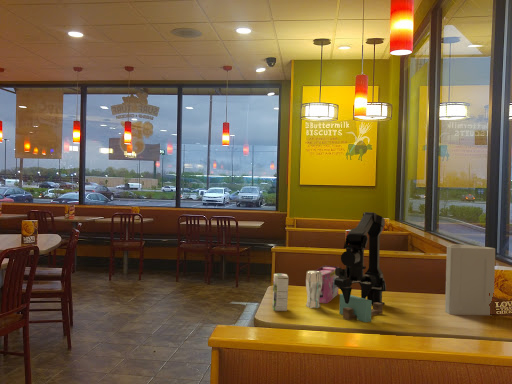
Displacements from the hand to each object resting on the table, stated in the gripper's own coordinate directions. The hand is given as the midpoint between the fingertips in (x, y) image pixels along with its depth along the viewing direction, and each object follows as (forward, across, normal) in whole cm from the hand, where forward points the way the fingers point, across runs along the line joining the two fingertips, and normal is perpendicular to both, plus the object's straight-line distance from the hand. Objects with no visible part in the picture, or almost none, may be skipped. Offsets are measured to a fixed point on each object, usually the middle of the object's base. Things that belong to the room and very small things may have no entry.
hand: (355, 302), depth 178 cm
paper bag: (+6, -52, +15) cm, 54 cm away
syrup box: (+6, +19, -24) cm, 31 cm away
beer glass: (+6, +3, -21) cm, 22 cm away
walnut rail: (+6, -5, 0) cm, 8 cm away
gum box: (+6, -13, -31) cm, 34 cm away
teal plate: (+6, 0, 0) cm, 6 cm away
